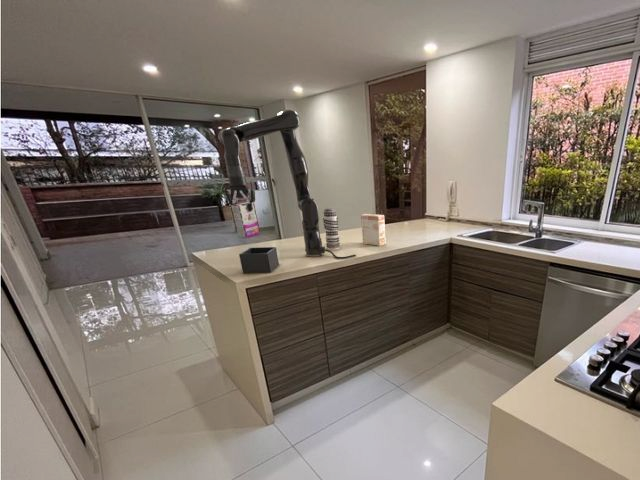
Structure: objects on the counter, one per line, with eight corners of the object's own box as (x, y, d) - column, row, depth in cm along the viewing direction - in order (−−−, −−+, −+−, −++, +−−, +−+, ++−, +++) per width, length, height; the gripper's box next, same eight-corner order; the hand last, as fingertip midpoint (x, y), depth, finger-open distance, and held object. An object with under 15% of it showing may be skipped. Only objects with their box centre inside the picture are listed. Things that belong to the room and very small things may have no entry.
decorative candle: (330, 246, 225) (326, 207, 214) (343, 247, 222) (339, 207, 212) (323, 249, 217) (318, 209, 206) (336, 250, 214) (332, 209, 204)
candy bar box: (252, 233, 182) (245, 202, 175) (260, 234, 181) (254, 202, 174) (237, 238, 172) (230, 204, 165) (246, 238, 171) (239, 204, 164)
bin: (279, 264, 184) (276, 246, 180) (271, 272, 171) (267, 253, 167) (253, 265, 183) (249, 247, 179) (243, 273, 170) (238, 254, 166)
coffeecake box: (385, 244, 231) (384, 214, 223) (379, 246, 225) (377, 216, 217) (369, 241, 238) (367, 213, 230) (362, 243, 233) (360, 214, 225)
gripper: (254, 175, 168) (261, 210, 175) (224, 175, 167) (232, 210, 174) (248, 175, 161) (256, 212, 168) (217, 175, 160) (226, 212, 167)
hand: (244, 211), depth 171 cm, fingers closed on candy bar box, 5 cm apart
